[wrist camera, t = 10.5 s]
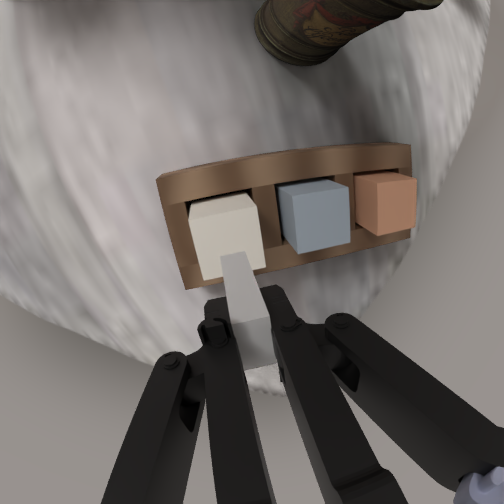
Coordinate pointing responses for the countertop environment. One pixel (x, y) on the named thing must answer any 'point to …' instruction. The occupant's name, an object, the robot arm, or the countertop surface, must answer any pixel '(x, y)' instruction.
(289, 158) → the key panel
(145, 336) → the countertop surface
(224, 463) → the robot arm
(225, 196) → the ivory key
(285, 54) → the container
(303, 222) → the slate key
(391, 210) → the terracotta key
